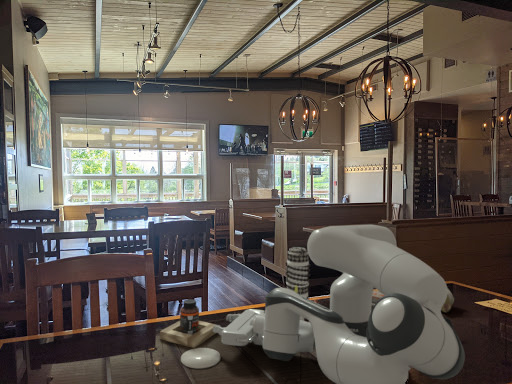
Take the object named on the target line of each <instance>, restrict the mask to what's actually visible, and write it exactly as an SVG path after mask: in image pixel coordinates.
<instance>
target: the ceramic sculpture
mask: <svg viewBox="0 0 512 384" xmlns="http://www.w3.org/2000/svg"><path fill="white" fill-rule="evenodd" d="M454 302H455V297H454V295H453V293H452V292H451V291H450V289H449V288H448V287H447V298H446V301H445V303H444V304H443V306H442V308H441V312H443V313H448V312H450V311H451V309H452V306H453V304H454Z"/></svg>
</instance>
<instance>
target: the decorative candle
mask: <svg viewBox="0 0 512 384" xmlns="http://www.w3.org/2000/svg"><path fill="white" fill-rule="evenodd" d="M309 262H310V260H309V254H308V250H307V249H306V248H305V247H301V246H296V247H295V246H293V247H292V246H291V248H289V249H288V251H287V260H286V262H284V263H285V266H286V268H285V283H286V285H287V287H286V288H287V289H291V290H293V291H295V286H296V285H297V288H298V294H300V295H301V296H303V297H305V298H307V299H309V285H310V283H309V281H310V280H311V279H310V278H309V277H310V276H311V274H310V273H309V272H310V271H311V269H310V267H311V264H310V263H309ZM309 300H310V299H309Z"/></svg>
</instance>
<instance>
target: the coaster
mask: <svg viewBox="0 0 512 384" xmlns="http://www.w3.org/2000/svg"><path fill="white" fill-rule="evenodd" d="M220 360H221V354H220V352H219V351H217V350H216V349H213V348H209V347H197V348H196V347H195V348H191V349H189V350H186V351H185V352H184V353H182V355H181V356H180V362H181V363H182V364H183V366H185V367H188V368H191V369H198V370H199V369H208V368H210V367H214V366H216V365H217V364H218V363H219V362H221V361H220Z"/></svg>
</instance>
